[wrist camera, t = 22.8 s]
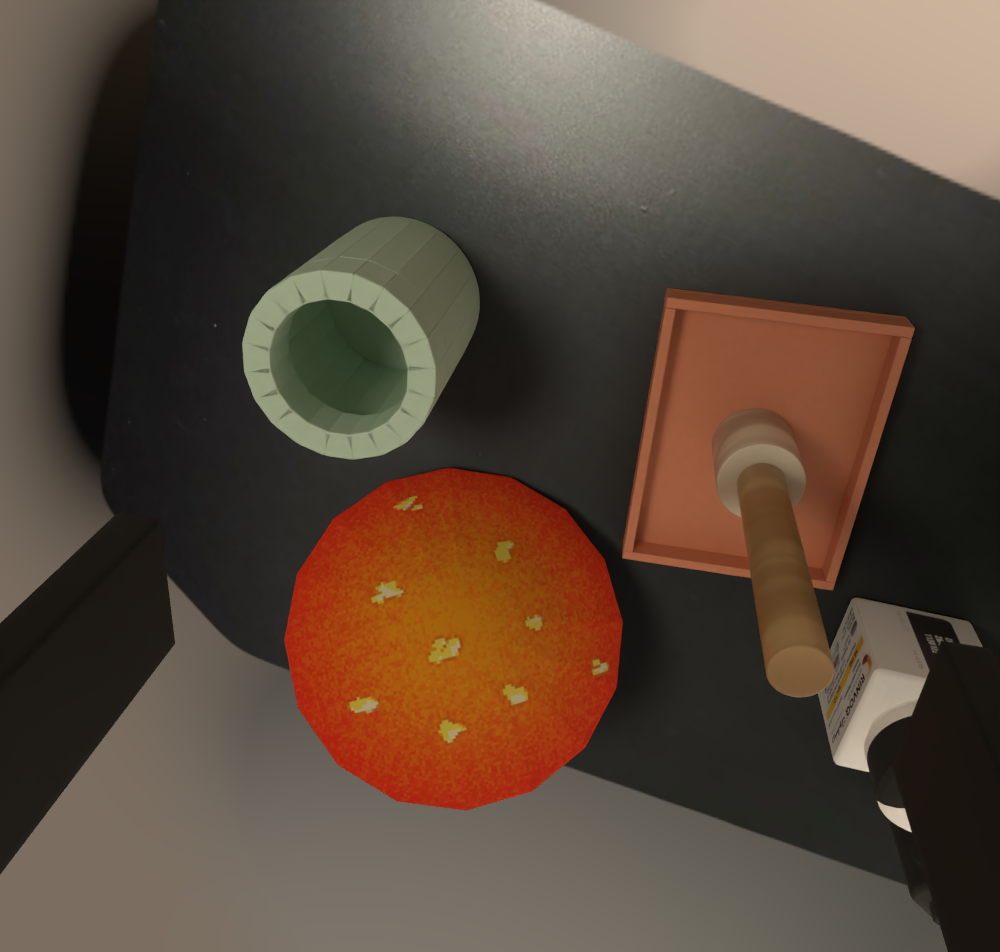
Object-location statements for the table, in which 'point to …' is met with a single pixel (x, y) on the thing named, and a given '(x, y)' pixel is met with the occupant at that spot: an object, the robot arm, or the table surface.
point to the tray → (765, 385)
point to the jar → (362, 338)
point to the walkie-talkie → (913, 870)
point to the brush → (774, 545)
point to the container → (881, 687)
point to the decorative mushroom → (454, 638)
